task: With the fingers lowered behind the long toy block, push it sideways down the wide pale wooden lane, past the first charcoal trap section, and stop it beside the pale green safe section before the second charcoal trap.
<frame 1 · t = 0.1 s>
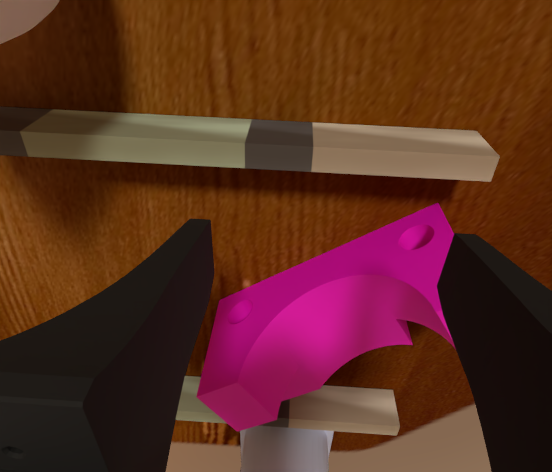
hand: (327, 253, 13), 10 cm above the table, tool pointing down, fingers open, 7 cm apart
toy block: (340, 285, 27), on the table
trap lane: (236, 285, 27), on the table
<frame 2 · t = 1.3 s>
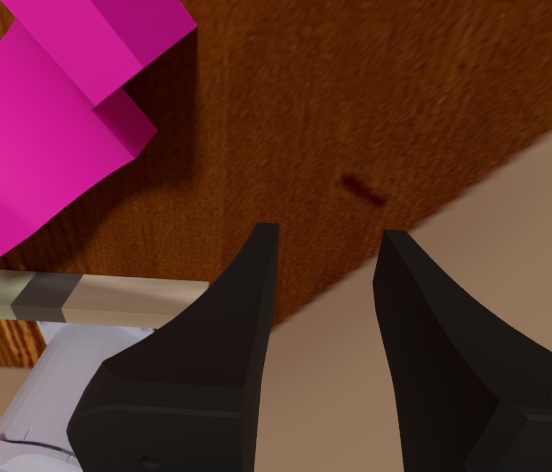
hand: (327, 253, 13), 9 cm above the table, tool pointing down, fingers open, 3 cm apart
toy block: (74, 105, 20), on the table
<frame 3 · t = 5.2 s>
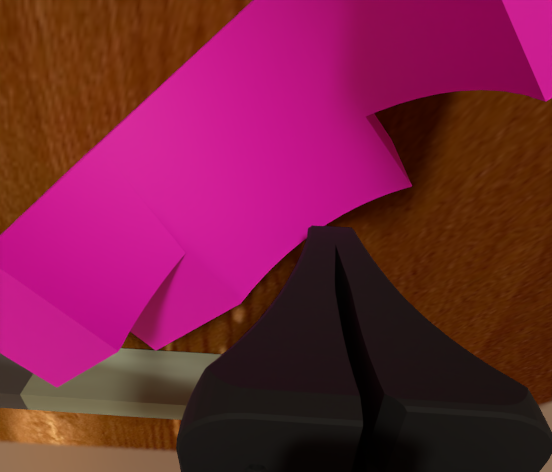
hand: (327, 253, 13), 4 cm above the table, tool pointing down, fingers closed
toy block: (273, 114, 15), on the table, touching gripper
trap lane: (209, 185, 16), on the table
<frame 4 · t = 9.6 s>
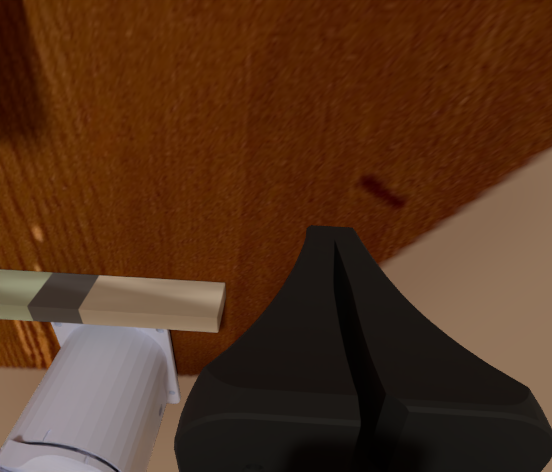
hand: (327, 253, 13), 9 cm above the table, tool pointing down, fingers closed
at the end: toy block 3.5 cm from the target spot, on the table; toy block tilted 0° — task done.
